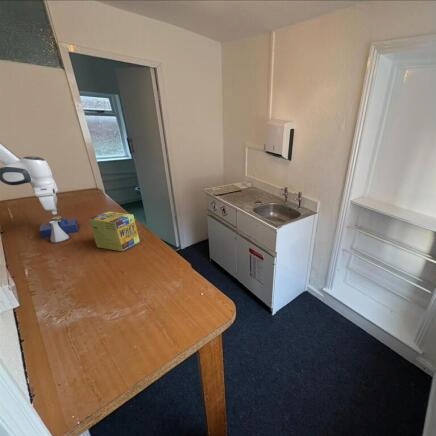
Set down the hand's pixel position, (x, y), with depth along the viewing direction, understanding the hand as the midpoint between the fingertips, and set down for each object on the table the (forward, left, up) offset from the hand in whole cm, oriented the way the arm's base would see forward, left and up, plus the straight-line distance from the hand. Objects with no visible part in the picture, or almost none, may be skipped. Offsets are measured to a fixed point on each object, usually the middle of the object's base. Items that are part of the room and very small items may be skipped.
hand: (55, 213), depth 125 cm
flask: (0, -14, -10) cm, 17 cm away
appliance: (0, -2, -10) cm, 10 cm away
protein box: (+23, -37, -10) cm, 45 cm away
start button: (0, 0, -4) cm, 4 cm away
